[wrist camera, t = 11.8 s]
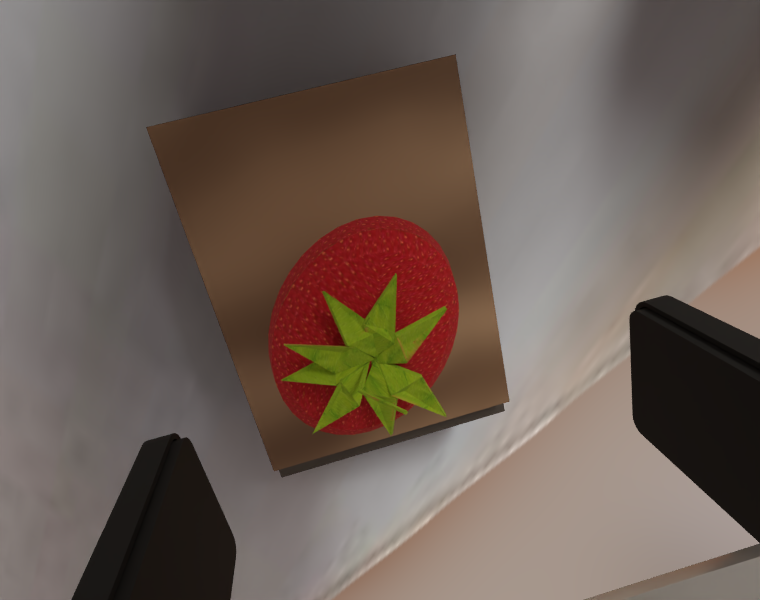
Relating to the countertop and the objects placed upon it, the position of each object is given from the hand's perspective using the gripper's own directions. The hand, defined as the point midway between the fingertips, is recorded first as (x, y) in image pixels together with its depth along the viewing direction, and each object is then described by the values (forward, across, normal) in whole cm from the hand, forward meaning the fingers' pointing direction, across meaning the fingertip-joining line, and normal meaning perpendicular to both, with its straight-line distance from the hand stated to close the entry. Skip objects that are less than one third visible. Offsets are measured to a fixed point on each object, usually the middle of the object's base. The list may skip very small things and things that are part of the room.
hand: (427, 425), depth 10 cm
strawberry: (+12, 0, +1) cm, 12 cm away
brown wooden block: (+18, 0, +1) cm, 18 cm away
